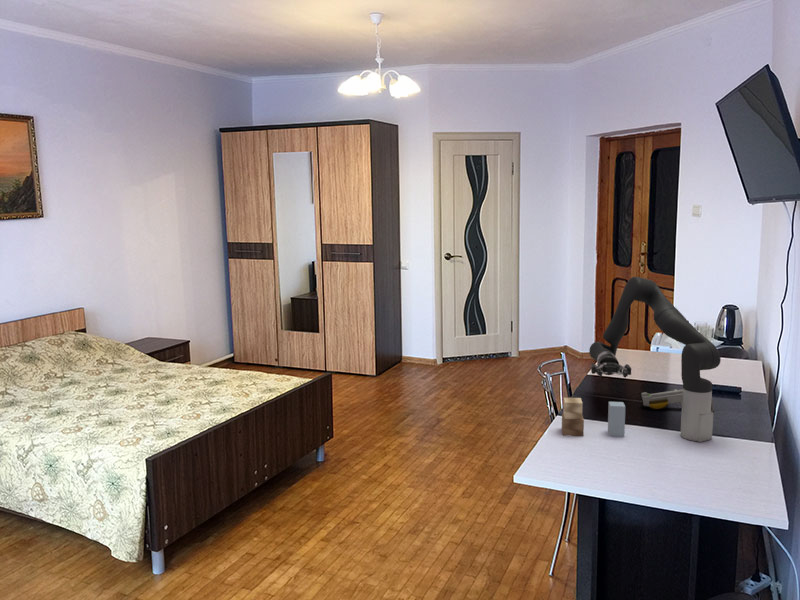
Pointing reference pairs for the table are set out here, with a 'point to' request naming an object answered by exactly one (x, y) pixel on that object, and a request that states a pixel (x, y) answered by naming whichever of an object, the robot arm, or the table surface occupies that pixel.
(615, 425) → the slate block
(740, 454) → the table surface
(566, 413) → the beech block
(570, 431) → the walnut block
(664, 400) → the toy
